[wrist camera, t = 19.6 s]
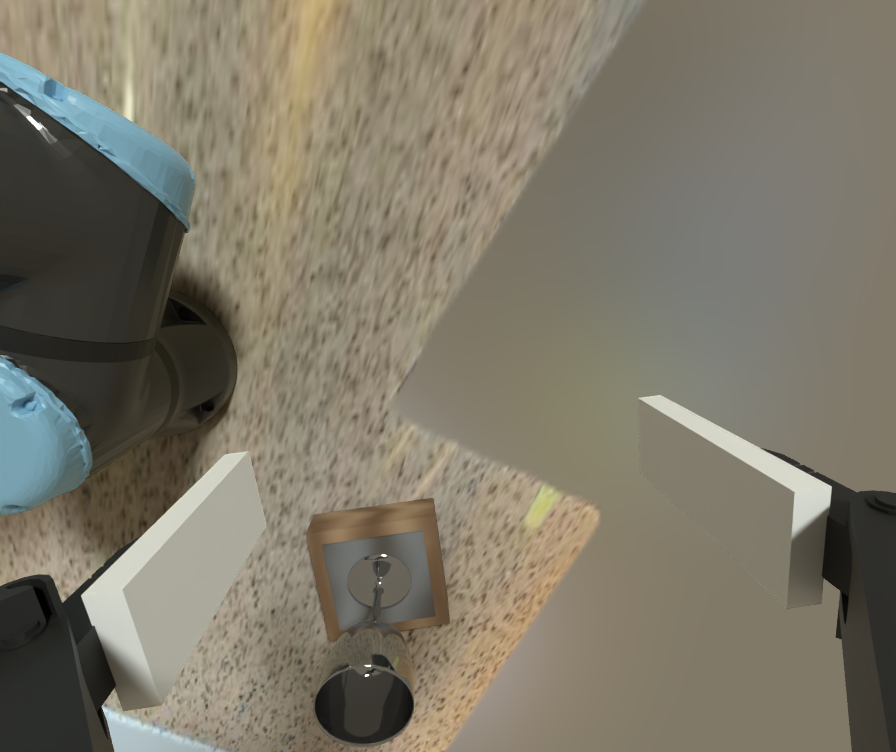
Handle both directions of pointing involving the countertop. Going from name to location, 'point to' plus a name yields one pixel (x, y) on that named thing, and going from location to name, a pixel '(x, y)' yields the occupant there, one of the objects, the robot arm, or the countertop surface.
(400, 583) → the wine glass
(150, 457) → the countertop surface
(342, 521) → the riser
